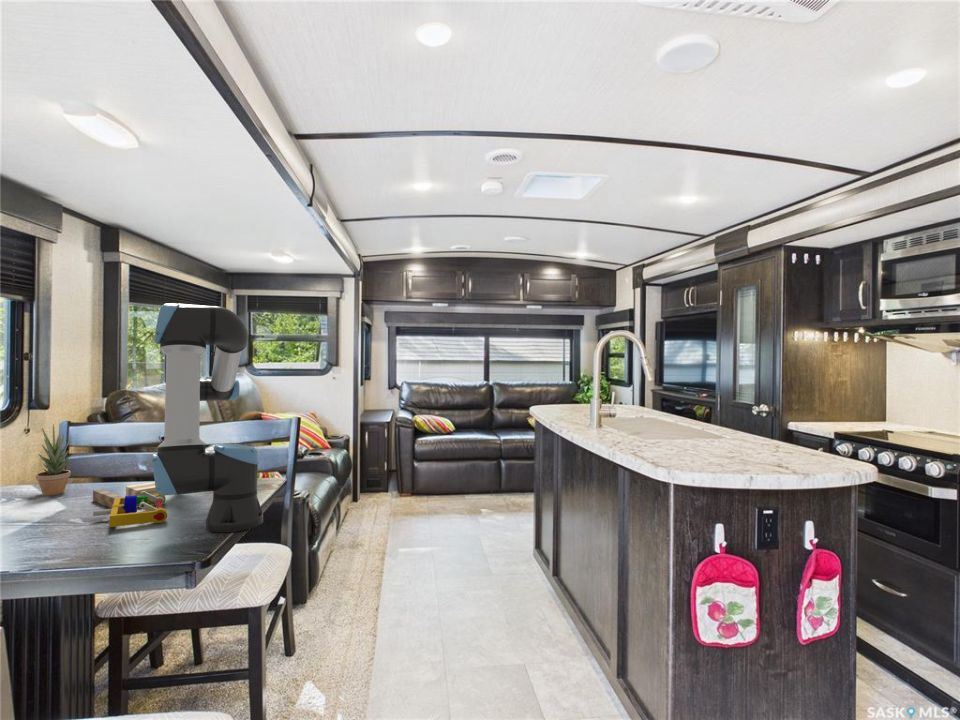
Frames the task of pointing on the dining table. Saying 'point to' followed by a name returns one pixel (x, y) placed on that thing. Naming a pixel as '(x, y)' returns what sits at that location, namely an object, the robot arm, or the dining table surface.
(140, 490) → the block
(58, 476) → the potted plant
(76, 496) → the dining table surface
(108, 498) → the board
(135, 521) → the mechanical clamp
